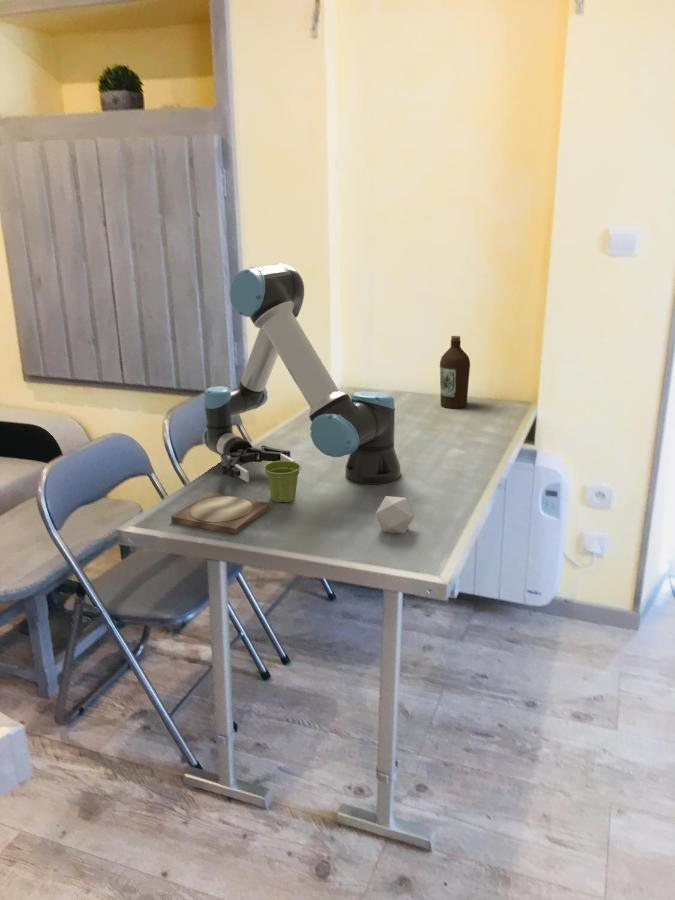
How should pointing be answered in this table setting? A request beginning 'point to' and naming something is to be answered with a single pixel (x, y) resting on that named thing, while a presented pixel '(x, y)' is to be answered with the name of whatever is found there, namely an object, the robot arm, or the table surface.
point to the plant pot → (282, 479)
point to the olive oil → (454, 376)
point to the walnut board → (221, 513)
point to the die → (395, 514)
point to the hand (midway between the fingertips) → (271, 471)
